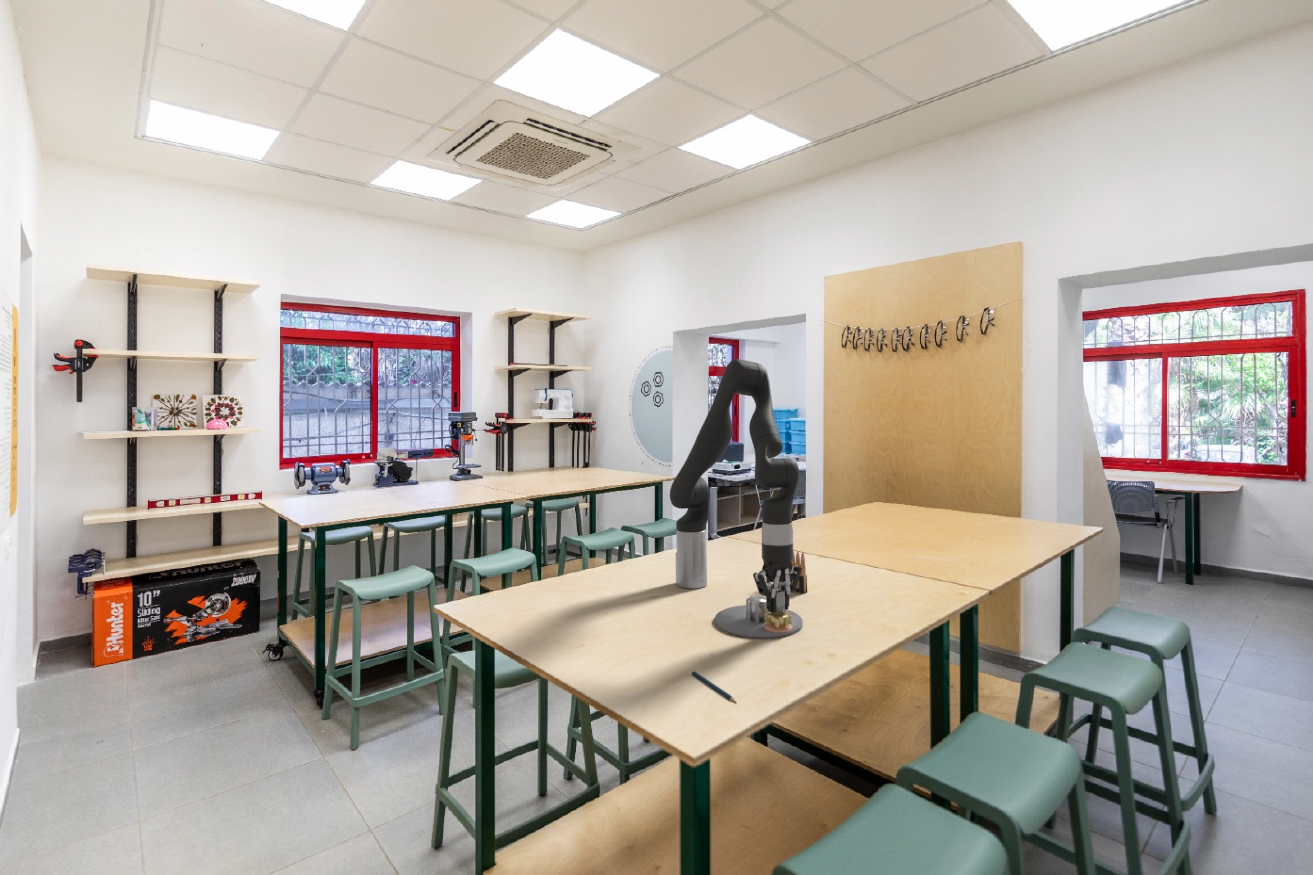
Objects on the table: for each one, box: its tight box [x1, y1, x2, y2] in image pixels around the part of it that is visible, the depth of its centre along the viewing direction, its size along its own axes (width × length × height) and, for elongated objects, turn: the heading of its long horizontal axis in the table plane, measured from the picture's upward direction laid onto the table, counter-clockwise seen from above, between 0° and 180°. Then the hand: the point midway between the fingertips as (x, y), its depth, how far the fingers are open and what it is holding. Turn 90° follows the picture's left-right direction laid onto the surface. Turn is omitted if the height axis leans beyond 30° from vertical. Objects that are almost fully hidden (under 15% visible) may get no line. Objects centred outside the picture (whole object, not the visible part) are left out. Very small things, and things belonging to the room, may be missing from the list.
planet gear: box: [765, 588, 792, 627], centre depth 155 cm, size 6×6×8 cm
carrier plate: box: [714, 595, 804, 640], centre depth 161 cm, size 22×22×6 cm
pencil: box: [691, 671, 738, 704], centre depth 125 cm, size 1×1×15 cm
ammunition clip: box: [778, 550, 808, 594], centre depth 189 cm, size 11×2×12 cm, turn 43°
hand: (777, 610), depth 155 cm, fingers closed on planet gear, 3 cm apart
